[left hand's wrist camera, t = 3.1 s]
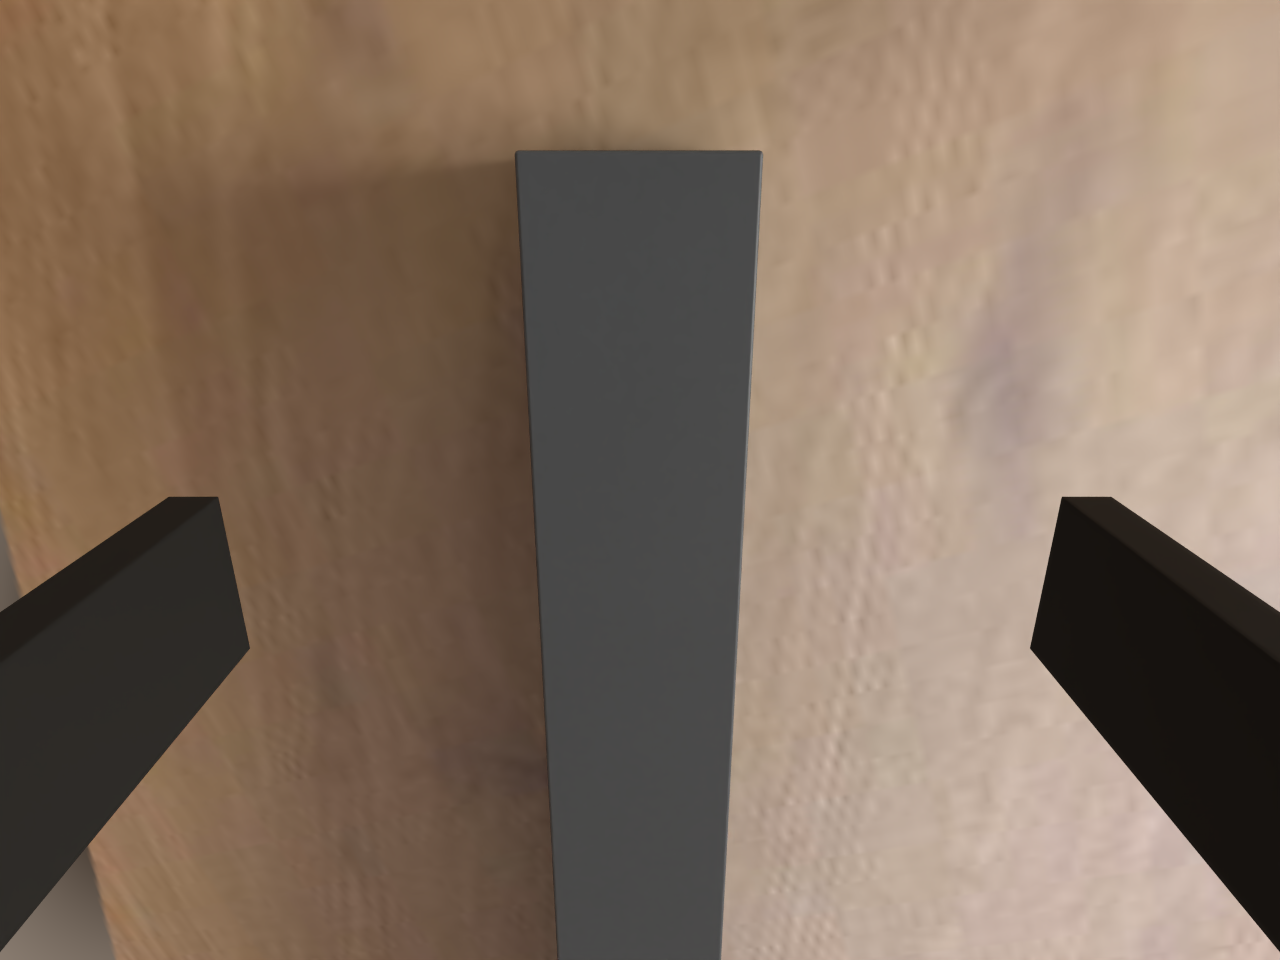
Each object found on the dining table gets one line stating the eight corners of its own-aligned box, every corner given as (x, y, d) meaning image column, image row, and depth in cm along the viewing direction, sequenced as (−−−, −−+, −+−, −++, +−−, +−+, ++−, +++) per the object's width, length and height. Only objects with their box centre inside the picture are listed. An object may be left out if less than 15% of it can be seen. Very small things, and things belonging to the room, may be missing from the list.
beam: (549, 157, 24) (513, 150, 18) (729, 157, 24) (763, 150, 18) (591, 1254, 46) (583, 1442, 39) (687, 1254, 46) (695, 1442, 39)
